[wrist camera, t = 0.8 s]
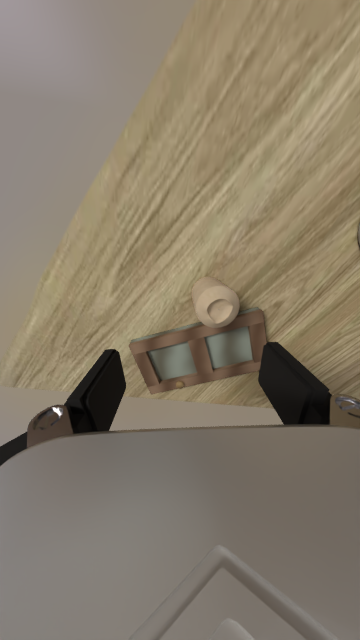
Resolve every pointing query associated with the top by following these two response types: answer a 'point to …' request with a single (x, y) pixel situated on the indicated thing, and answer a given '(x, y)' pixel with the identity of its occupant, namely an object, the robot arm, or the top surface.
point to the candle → (214, 302)
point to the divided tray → (201, 352)
